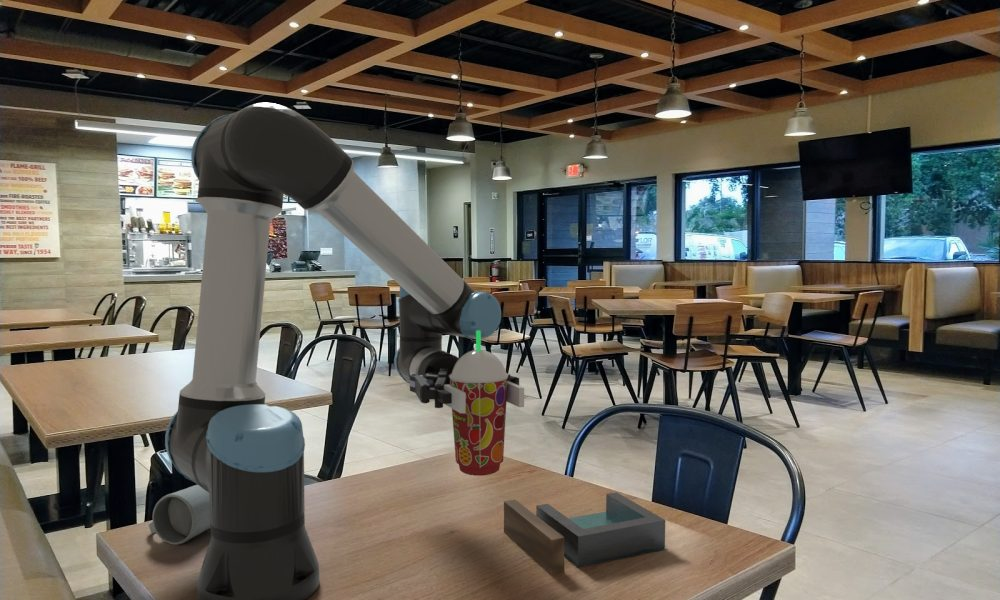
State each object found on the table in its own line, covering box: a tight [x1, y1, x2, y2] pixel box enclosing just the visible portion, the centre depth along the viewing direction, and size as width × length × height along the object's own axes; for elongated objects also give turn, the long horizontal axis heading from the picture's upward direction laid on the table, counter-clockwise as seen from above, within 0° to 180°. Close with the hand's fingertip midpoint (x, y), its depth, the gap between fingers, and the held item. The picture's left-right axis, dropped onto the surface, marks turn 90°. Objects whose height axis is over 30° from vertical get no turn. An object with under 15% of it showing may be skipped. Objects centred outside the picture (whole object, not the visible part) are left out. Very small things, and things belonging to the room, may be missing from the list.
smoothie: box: [449, 331, 508, 477], centre depth 96 cm, size 8×8×20 cm
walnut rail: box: [503, 499, 565, 576], centre depth 100 cm, size 2×16×5 cm, turn 24°
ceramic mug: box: [148, 484, 210, 546], centre depth 107 cm, size 11×8×8 cm
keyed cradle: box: [535, 491, 666, 568], centre depth 105 cm, size 15×15×4 cm
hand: (492, 400), depth 92 cm, fingers closed on smoothie, 8 cm apart
